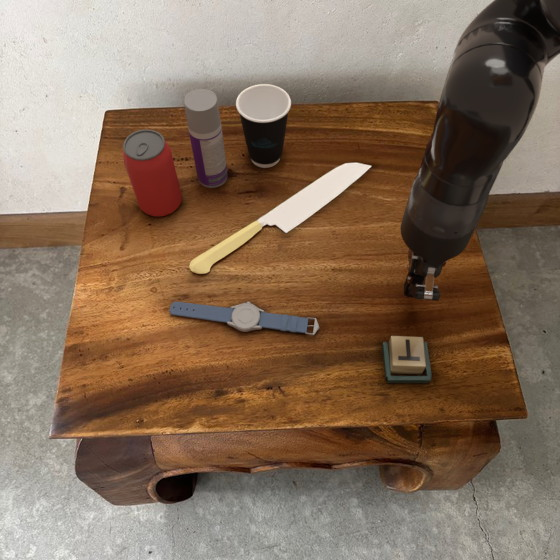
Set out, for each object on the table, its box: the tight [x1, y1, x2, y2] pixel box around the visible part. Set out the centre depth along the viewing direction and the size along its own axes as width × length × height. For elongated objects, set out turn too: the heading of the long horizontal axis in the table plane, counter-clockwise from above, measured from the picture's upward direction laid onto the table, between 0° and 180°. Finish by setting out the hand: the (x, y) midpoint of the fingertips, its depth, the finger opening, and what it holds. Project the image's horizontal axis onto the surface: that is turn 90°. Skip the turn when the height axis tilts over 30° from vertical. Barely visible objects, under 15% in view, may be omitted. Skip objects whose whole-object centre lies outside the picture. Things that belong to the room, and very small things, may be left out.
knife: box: [188, 162, 372, 275], centre depth 81 cm, size 1×34×5 cm
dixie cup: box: [235, 83, 292, 169], centre depth 83 cm, size 8×8×11 cm
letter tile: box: [387, 335, 426, 376], centre depth 68 cm, size 4×4×3 cm
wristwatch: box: [169, 301, 321, 336], centre depth 72 cm, size 4×20×1 cm, turn 81°
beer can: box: [122, 128, 183, 217], centre depth 78 cm, size 7×7×12 cm
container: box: [183, 88, 229, 189], centre depth 79 cm, size 5×5×15 cm
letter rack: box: [381, 341, 433, 384], centre depth 69 cm, size 5×6×1 cm
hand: (411, 291), depth 72 cm, fingers closed
